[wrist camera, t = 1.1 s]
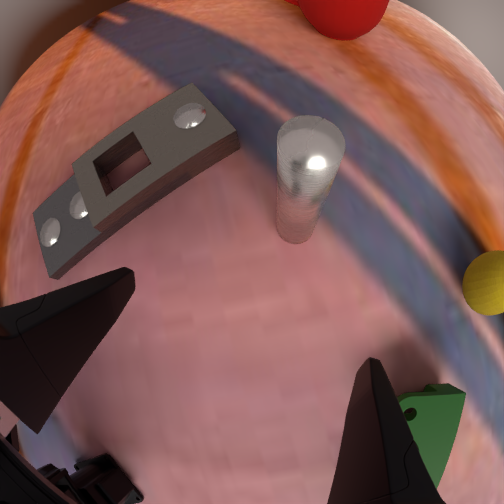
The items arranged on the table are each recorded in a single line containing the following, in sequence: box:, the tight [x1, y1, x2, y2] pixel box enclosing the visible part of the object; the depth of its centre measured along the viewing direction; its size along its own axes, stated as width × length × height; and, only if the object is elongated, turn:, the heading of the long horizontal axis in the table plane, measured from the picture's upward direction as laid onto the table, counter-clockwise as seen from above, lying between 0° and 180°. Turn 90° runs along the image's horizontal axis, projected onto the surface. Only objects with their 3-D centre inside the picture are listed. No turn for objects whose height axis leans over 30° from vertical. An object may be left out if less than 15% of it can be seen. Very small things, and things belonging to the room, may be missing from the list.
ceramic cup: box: [285, 0, 389, 40], centre depth 27 cm, size 13×17×10 cm
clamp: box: [397, 383, 466, 489], centre depth 16 cm, size 12×6×9 cm, turn 168°
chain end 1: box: [72, 83, 240, 232], centre depth 26 cm, size 16×9×3 cm, turn 124°
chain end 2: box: [33, 140, 192, 280], centre depth 26 cm, size 18×9×2 cm, turn 124°
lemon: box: [462, 251, 504, 315], centre depth 18 cm, size 6×6×8 cm
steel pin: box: [277, 115, 345, 244], centre depth 18 cm, size 3×3×12 cm
